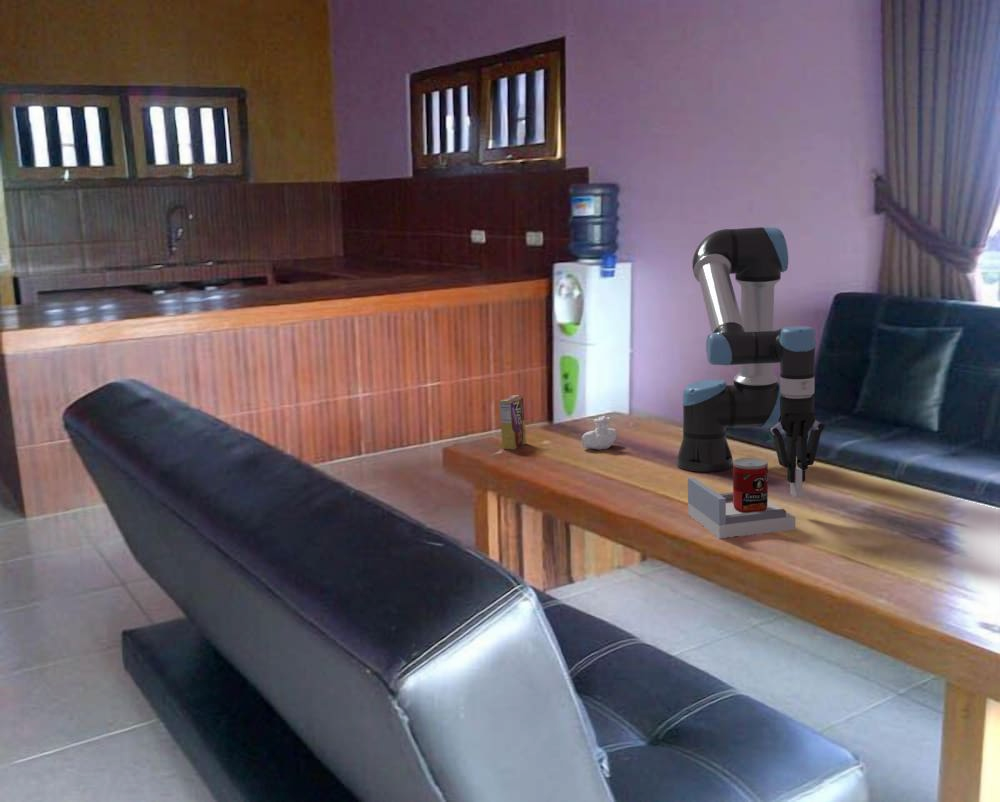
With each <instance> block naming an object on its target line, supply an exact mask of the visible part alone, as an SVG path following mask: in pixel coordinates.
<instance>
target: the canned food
mask: <svg viewBox="0 0 1000 802" xmlns="http://www.w3.org/2000/svg"><path fill="white" fill-rule="evenodd" d="M768 469H769V465H768V461H767V460H765V459H763V458H759V457H739V458H737V459H735V460H733V465H732V492H733V505H734V508H735V509H736V510H737V511H740V512H744V513H751V512H759V511H765V510H766V509H767V502H768V501H769V498H768V496H769V495H768V489H769V488H768V487H769V484H768V483H769V482H768V481H769V478H768V477H769V475H768V474H769V473H768V472H769V471H768Z"/></svg>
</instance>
